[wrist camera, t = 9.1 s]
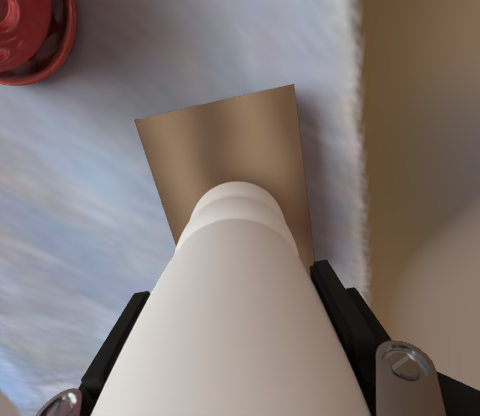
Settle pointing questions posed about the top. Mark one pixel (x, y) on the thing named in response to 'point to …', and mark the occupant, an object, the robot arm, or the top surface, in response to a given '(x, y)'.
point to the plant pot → (35, 38)
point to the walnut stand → (231, 157)
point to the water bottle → (233, 325)
